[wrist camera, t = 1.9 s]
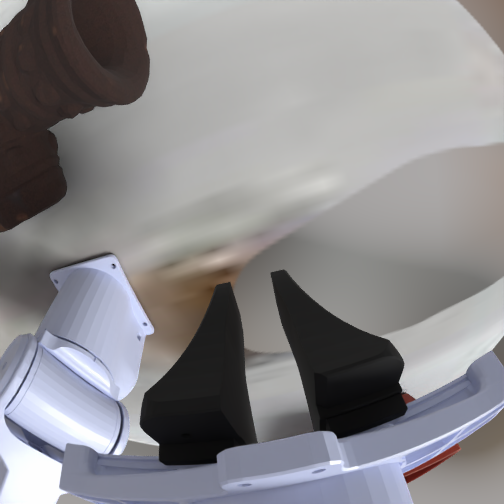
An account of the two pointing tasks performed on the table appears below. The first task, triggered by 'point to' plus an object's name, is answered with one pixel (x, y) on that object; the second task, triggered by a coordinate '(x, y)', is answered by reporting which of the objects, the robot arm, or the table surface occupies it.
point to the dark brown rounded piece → (60, 88)
